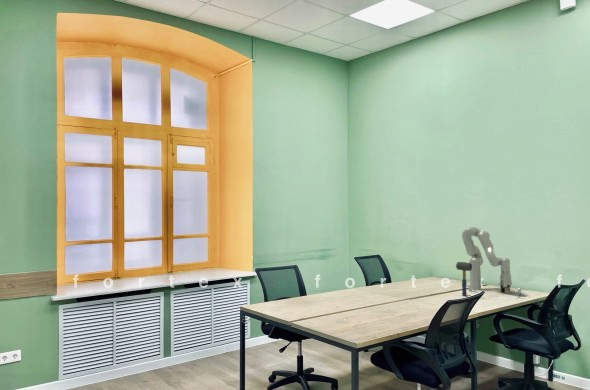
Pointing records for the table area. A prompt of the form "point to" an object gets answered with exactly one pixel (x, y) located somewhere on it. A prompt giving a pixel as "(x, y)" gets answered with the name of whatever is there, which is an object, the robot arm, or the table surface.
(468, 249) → the robot arm
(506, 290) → the wooden collar
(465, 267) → the rubber mallet
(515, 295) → the base plate
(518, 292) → the steel shaft
